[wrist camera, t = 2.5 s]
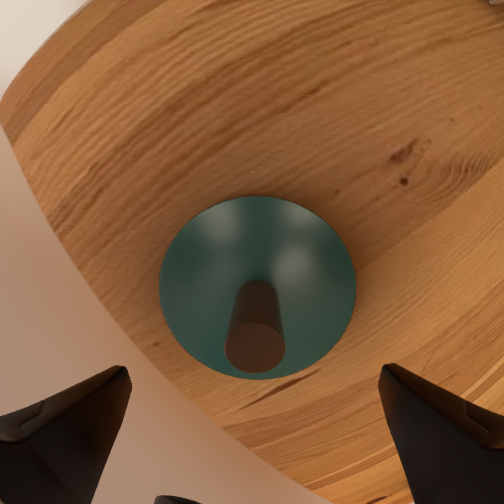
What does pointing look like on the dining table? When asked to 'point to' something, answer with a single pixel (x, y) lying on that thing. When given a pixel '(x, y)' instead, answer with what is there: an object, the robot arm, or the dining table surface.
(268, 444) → the dining table surface
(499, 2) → the ice cream cone
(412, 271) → the dining table surface
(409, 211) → the dining table surface
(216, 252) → the lid
